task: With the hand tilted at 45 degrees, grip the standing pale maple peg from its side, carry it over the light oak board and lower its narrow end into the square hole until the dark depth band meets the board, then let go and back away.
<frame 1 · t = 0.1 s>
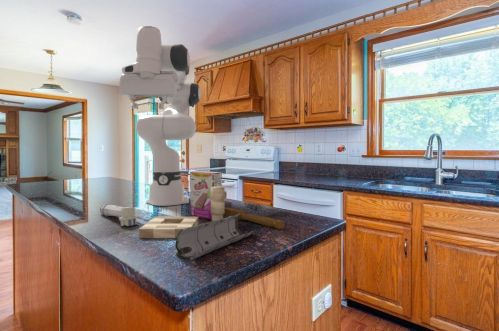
hand: (148, 108, 111), 39 cm above the counter, tool pointing down, fingers open, 8 cm apart
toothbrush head: (117, 221, 107), on the counter
board: (172, 229, 95), on the counter
tap handle: (247, 221, 106), on the counter
grey angled channel: (219, 246, 80), on the counter
candy bar box: (206, 217, 110), on the counter
peg: (217, 229, 94), on the counter
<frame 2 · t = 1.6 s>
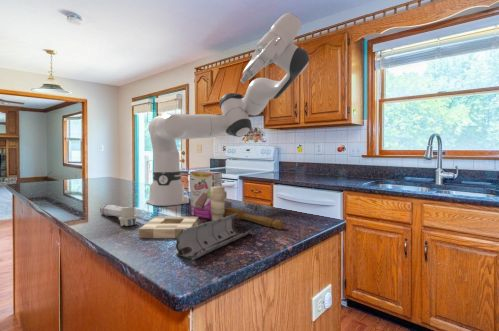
hand: (247, 77, 102), 48 cm above the counter, tool tilted 40°, fingers open, 8 cm apart
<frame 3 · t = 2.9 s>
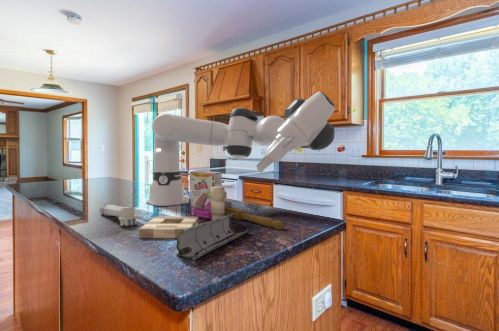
hand: (258, 169, 93), 19 cm above the counter, tool tilted 45°, fingers open, 8 cm apart
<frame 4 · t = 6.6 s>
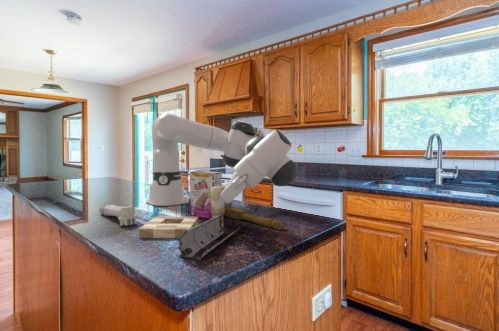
hand: (215, 205, 94), 7 cm above the counter, tool tilted 45°, fingers closed on peg, 4 cm apart
grey angled channel: (213, 245, 81), on the counter
peg: (217, 229, 94), on the counter, touching gripper
everything else where it was.
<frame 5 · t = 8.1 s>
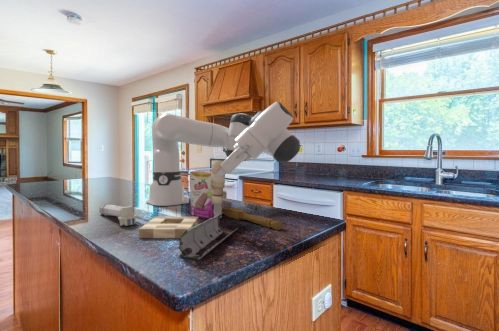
hand: (216, 178, 93), 16 cm above the counter, tool tilted 45°, fingers closed on peg, 4 cm apart
peg: (216, 203, 94), point 8 cm above the counter, touching gripper
everything else where it was.
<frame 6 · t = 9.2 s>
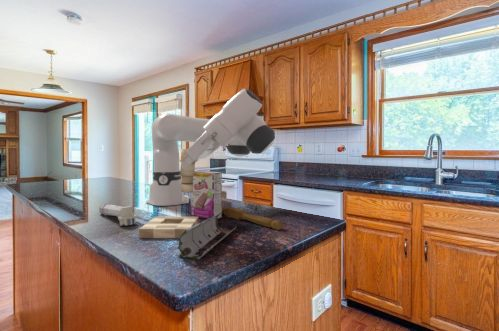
hand: (185, 166, 93), 19 cm above the counter, tool tilted 45°, fingers closed on peg, 4 cm apart
peg: (187, 191, 93), point 12 cm above the counter, touching gripper
when the fingers open (8 cm above the counter, at t = 11.9 s): peg stays where it is, on the counter.
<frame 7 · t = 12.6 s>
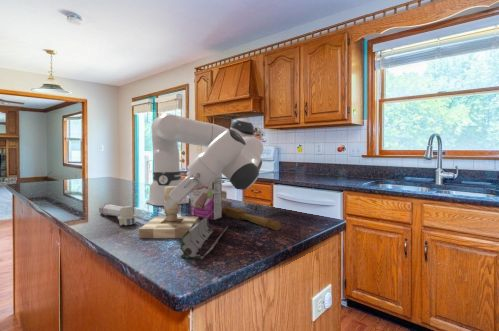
hand: (170, 204, 94), 8 cm above the counter, tool tilted 45°, fingers open, 8 cm apart
grey angled channel: (207, 244, 82), on the counter
peg: (171, 229, 95), on the counter
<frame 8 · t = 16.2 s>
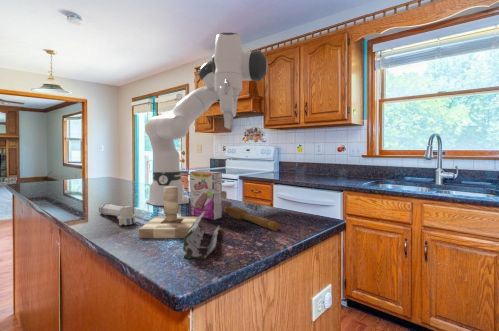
hand: (228, 128, 98), 31 cm above the counter, tool pointing down, fingers open, 8 cm apart
grey angled channel: (204, 244, 82), on the counter
at the end: peg 0.4 cm off-centre on the board, point 0.0 cm above the board's base; peg tilted 0°; the gripper is holding nothing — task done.
